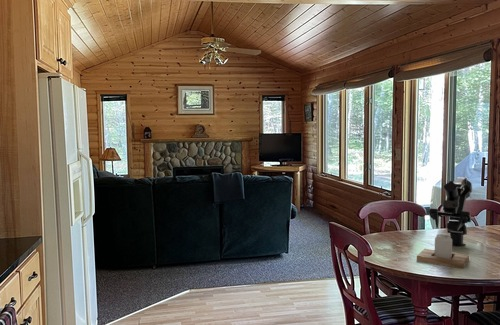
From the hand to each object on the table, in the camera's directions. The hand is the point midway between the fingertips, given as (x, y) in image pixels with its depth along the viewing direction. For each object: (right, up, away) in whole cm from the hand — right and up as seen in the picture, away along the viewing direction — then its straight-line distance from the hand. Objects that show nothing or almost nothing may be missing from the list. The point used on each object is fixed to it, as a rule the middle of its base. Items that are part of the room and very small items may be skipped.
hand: (446, 229), depth 206 cm
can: (-5, -14, -6) cm, 16 cm away
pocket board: (-5, -14, -6) cm, 16 cm away
